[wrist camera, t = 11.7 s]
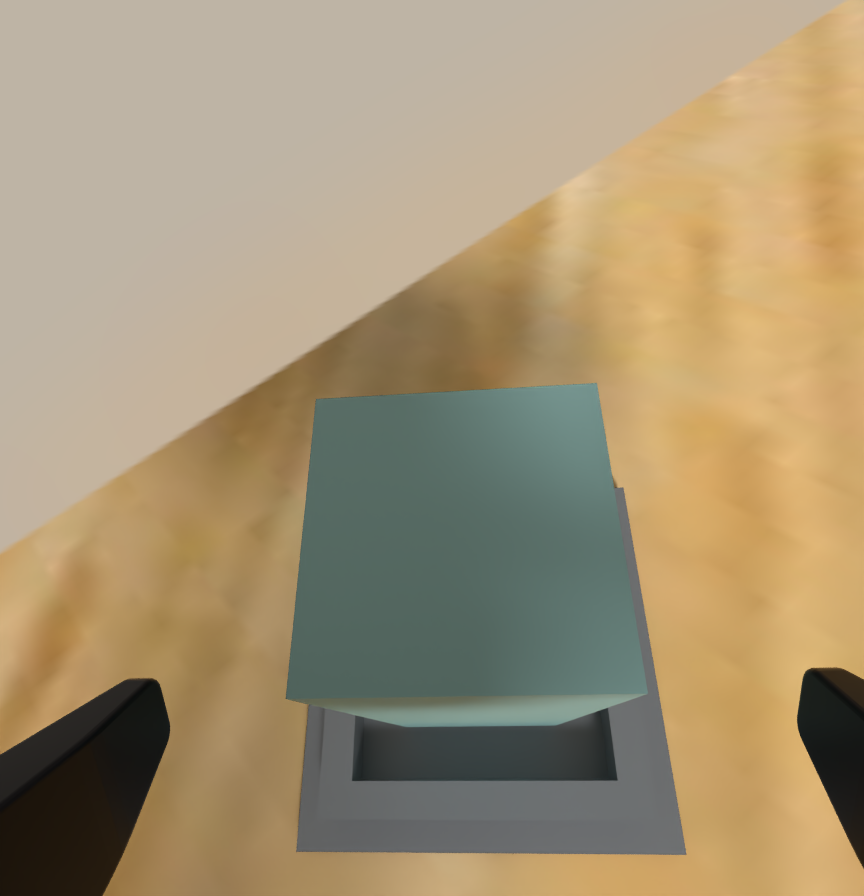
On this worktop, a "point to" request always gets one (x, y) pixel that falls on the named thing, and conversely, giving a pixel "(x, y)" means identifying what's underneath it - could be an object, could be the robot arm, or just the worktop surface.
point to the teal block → (463, 561)
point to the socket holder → (497, 778)
